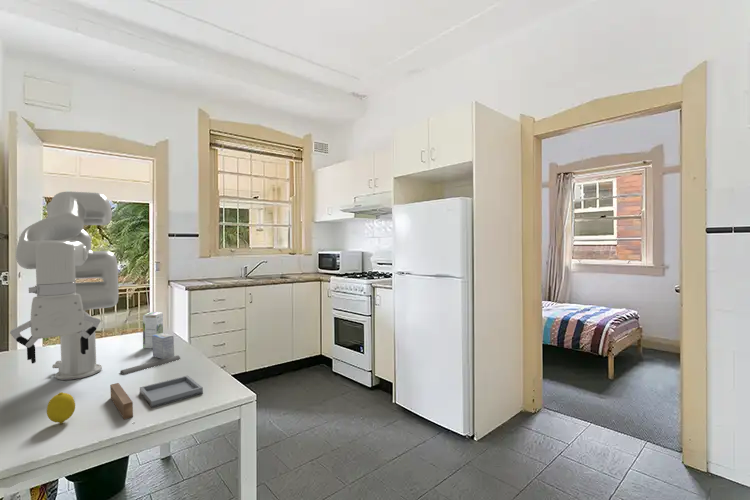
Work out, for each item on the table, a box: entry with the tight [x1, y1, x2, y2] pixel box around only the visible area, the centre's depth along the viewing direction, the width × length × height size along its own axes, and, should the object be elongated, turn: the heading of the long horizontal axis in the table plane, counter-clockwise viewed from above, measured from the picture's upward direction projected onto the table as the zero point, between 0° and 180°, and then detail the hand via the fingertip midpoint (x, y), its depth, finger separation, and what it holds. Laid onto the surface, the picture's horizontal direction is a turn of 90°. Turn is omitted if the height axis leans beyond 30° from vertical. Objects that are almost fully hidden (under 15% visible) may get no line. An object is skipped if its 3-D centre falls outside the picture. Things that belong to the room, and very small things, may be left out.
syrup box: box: [142, 311, 164, 349], centre depth 161 cm, size 6×6×14 cm
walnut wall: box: [110, 382, 134, 420], centre depth 104 cm, size 2×18×4 cm, turn 44°
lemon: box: [46, 392, 76, 424], centre depth 95 cm, size 6×6×8 cm
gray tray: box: [139, 375, 204, 409], centre depth 113 cm, size 14×14×2 cm
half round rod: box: [119, 354, 181, 375], centre depth 137 cm, size 4×20×2 cm, turn 146°
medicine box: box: [152, 332, 175, 360], centre depth 147 cm, size 8×4×9 cm, turn 58°
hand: (59, 357), depth 94 cm, fingers open, 9 cm apart
